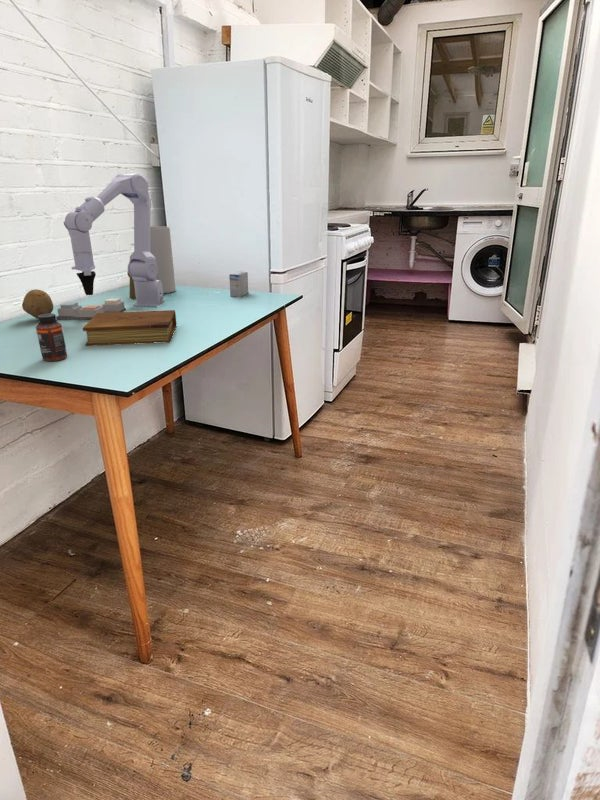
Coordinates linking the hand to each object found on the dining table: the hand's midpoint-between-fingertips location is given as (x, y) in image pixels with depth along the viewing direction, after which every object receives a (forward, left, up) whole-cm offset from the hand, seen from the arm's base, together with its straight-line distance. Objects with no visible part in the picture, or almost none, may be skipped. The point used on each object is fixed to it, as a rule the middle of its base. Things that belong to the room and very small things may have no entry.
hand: (89, 294), depth 176 cm
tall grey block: (-8, -45, -8) cm, 46 cm away
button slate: (+8, -1, -6) cm, 10 cm away
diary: (-22, +21, -8) cm, 31 cm away
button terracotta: (0, 0, -6) cm, 6 cm away
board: (+2, -4, -8) cm, 9 cm away
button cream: (-4, -8, -6) cm, 10 cm away
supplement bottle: (-10, +44, -8) cm, 46 cm away
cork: (-3, -33, -8) cm, 34 cm away
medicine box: (-42, -39, -8) cm, 58 cm away
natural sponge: (+16, +4, -8) cm, 18 cm away
